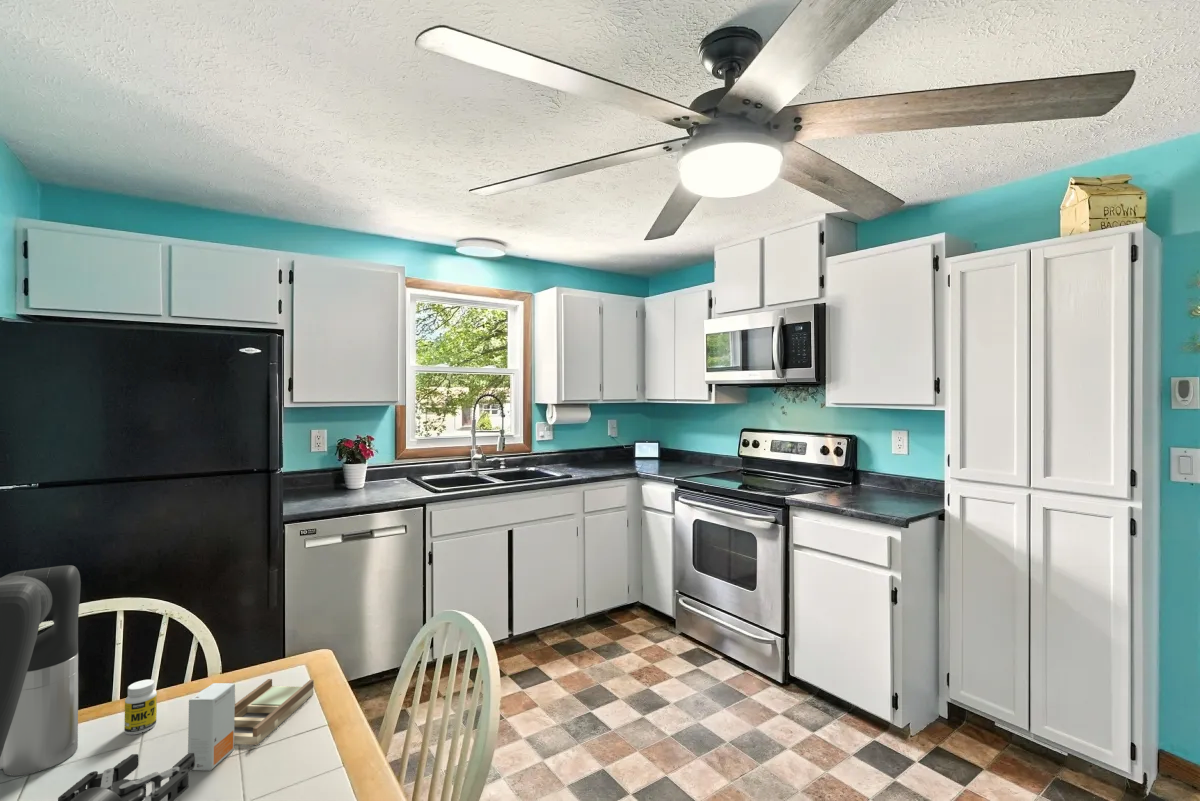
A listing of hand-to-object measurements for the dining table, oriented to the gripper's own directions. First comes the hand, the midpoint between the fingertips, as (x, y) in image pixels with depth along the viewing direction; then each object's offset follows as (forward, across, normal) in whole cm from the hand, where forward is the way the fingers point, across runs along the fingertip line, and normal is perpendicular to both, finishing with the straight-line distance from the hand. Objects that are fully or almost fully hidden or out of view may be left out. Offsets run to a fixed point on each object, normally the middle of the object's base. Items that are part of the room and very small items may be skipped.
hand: (164, 759), depth 87 cm
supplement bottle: (+22, +20, +7) cm, 30 cm away
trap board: (+25, -1, +7) cm, 26 cm away
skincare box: (+11, 0, +7) cm, 13 cm away
